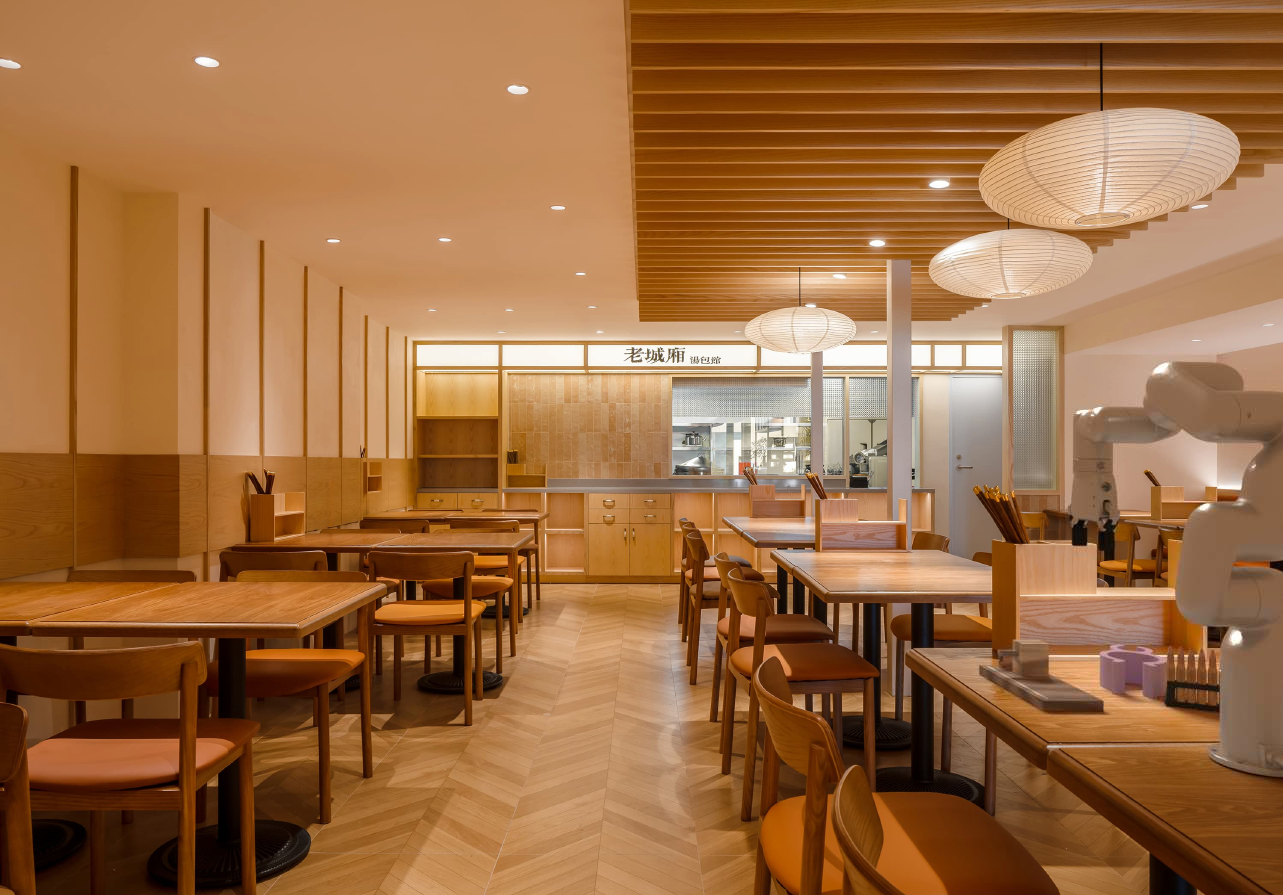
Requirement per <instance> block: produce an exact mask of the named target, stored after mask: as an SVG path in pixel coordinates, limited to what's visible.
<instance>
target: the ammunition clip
mask: <svg viewBox="0 0 1283 895" xmlns="http://www.w3.org/2000/svg"><path fill="white" fill-rule="evenodd" d="M1174 654H1175V653H1174V649H1173V647H1172V645H1169V646H1168V649H1167V655H1166V660H1167V664H1166V684H1165V695H1164V705H1165V706H1166V707H1169V708H1170V707H1171V708H1177V709H1186V710H1193V711H1194V710H1195V711H1204V712H1211V713H1219V714H1220V667H1219V670H1218V669H1217V668H1218V666H1217V657H1216V653H1215V650H1214V649H1211V650H1210V653H1209V657H1208V658H1209V659H1208V669H1207V667H1206V666H1207V664H1206V663H1207V662H1206V654H1205V651H1204V649H1203V648H1202V647H1201V648H1200V650H1199V652H1198V658H1197V659H1198V660H1197V668H1196V658H1195V652H1194V648H1193V647H1190V648H1189V650H1188V654H1187V665H1185V664H1186V663H1185V662H1186V661H1185V653H1184V648H1183V647H1182V646H1179V647H1178V650H1177V659H1176V665H1175V655H1174Z"/></svg>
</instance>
